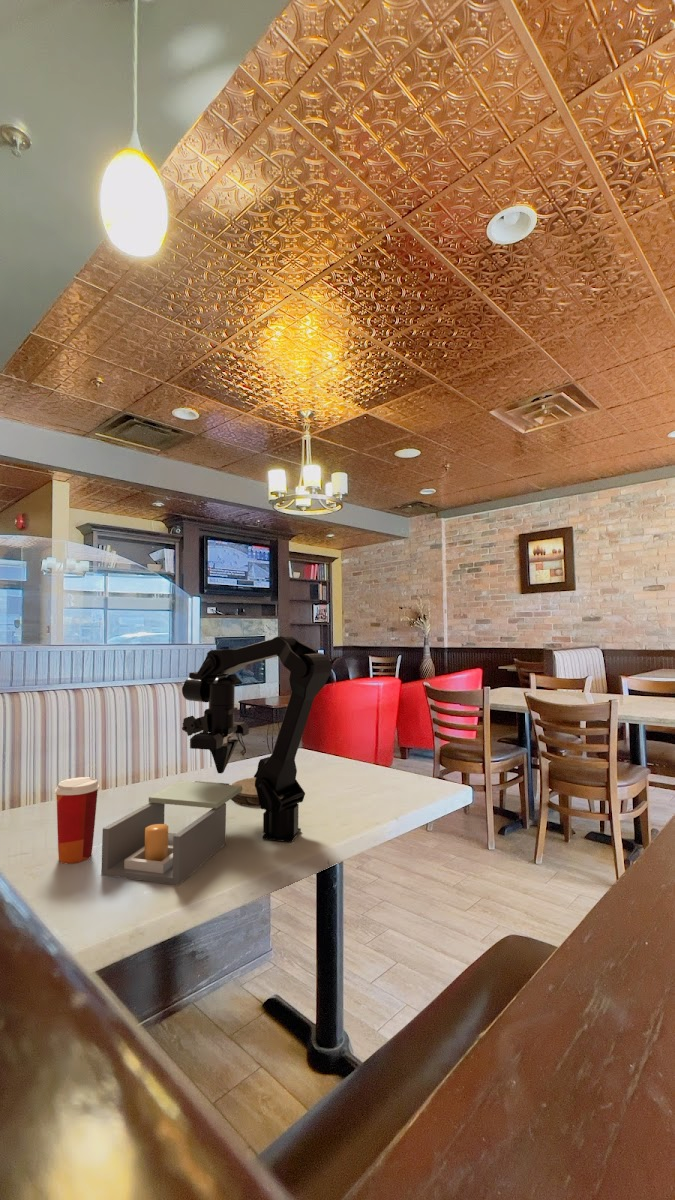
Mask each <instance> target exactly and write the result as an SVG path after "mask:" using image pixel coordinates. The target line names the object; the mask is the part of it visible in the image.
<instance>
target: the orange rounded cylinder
mask: <svg viewBox="0 0 675 1200" xmlns="http://www.w3.org/2000/svg"><path fill="white" fill-rule="evenodd" d="M168 833H169V825H168V824H165V823H164V824H154V825H150V826H148V827H146V828H145V860H153V861H163V860H164V859H165V858H167V857H168Z"/></svg>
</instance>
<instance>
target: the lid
mask: <svg viewBox="0 0 675 1200" xmlns="http://www.w3.org/2000/svg"><path fill="white" fill-rule="evenodd" d="M241 791H242V786H236V785H232V784H230V783H225V782H214V781H212V782H211V781H201V780H196V781H184V780H179V781H177V782H175V783H173V784H171V785H169V786H168V787H166V788H163V789H162V790H160V791H158V792H156V793H155V794H151V796H148V803H161V804H165V805H173V806H174V805H175V806H185V807H195V808H196V807H197V808H205V809H207V808H208V809H213V808H215V809H217V808H219V807H220V806H222V805H223V804H224V803H226V804H227V802H229V801H230V800H231V798H233V797H234V796H236V795H237V794H238V793H240V792H241Z"/></svg>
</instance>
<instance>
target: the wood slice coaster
mask: <svg viewBox="0 0 675 1200" xmlns="http://www.w3.org/2000/svg"><path fill="white" fill-rule="evenodd" d="M255 779H256V777H250V778H249V777H248V778H244V779H240V780H237V781H235V782H233V783H232V784H231V785H236V786H242V791H241V792H240V793H238V794H237V795H236V796H234V797H233V798H231V799H230V800H231V802H234V803H236V804H239V805H242V806H249V807H261V806H260V802H259V798H258V794H257V790H256V788H255ZM283 796H284V795H281V796H278V797H279V798H280V797H283Z"/></svg>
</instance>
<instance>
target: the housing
mask: <svg viewBox="0 0 675 1200" xmlns="http://www.w3.org/2000/svg"><path fill="white" fill-rule="evenodd" d="M165 805H166V804H161V803H150V802H148V803H147V804H145V805H143V806H141V807H139V808H138V809H136V810H134V811H132V812H130V813H128V814H126V815H124V816H122V817H121V818H119V819H117V820H115V821H113V822H112V823H110V824H108V825H106V826H104V827H103V828H102V841H101V868H100V869H101V873H100V876H107V877H114V878H123V879H129V880H137V881H145V882H151V883H160V884H167V885H175V886H180V885H181V884H182V883H183V882H185V880H186V879H187V878H188V877H189V878H190V876H191V875H192V874H193V873H194V872H195V871H197V869H199V868H200V867H201V866H203V864H205V862H207V860H209V859H210V858H211V857H212V856H213V855H215V854H216V853H217V852H218V851H219V850H220V849H221V848H223V847H224V846H225V845H226V837H227V836H226V835H227V834H226V831H227V829H226V826H227V824H226V822H227V816H226V815H227V802H226V803H224V804H223V805H222V806H220V807H219V808H217V809H215V808H210V810H208V811H206V812H205V813H204V814H202V815H201V816H200V817H198V818H196V820H194V821H192V822H191V823H189V824H188V825H187V826H185V827H184V828H183V829H181V830H180V831H179V832H177V833H174V832H173V833H172V832H168V857H167V858H165V859H164V860H163V861H153V860H145V828H146V827H148V826H150V825H154V824H165Z"/></svg>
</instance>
